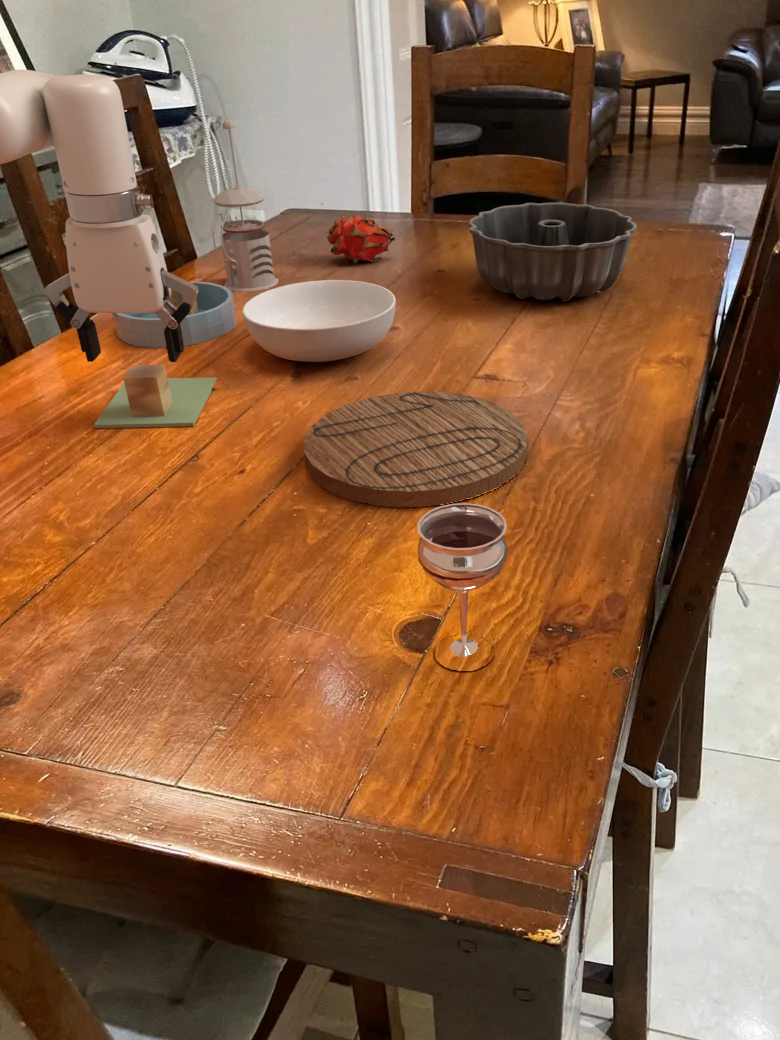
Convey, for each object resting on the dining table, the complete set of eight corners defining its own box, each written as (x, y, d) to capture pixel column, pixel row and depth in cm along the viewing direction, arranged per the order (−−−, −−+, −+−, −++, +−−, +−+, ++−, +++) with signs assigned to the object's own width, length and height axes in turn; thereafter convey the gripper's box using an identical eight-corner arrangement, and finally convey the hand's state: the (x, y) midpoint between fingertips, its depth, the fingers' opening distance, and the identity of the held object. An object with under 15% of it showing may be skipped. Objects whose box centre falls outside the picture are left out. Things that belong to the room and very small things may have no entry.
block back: (166, 323, 141) (160, 289, 138) (173, 314, 144) (166, 281, 141) (193, 322, 141) (187, 289, 138) (199, 313, 144) (193, 281, 141)
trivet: (272, 436, 109) (270, 421, 108) (457, 390, 119) (457, 376, 118) (362, 532, 91) (361, 515, 90) (572, 468, 101) (573, 452, 100)
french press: (292, 280, 158) (273, 116, 144) (250, 301, 150) (225, 128, 135) (246, 273, 162) (222, 113, 147) (202, 293, 154) (173, 125, 139)
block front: (132, 416, 113) (122, 377, 111) (141, 403, 117) (132, 365, 114) (164, 416, 113) (156, 377, 110) (172, 402, 117) (164, 364, 114)
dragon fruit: (325, 269, 168) (391, 276, 170) (324, 251, 160) (394, 259, 161) (328, 223, 168) (394, 230, 170) (327, 202, 160) (397, 210, 161)
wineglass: (486, 688, 72) (486, 558, 65) (408, 666, 75) (400, 538, 68) (518, 638, 77) (521, 513, 70) (444, 619, 79) (440, 496, 72)
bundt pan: (665, 289, 150) (673, 224, 144) (537, 324, 138) (539, 255, 132) (559, 253, 168) (562, 194, 162) (438, 281, 156) (436, 219, 150)
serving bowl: (318, 316, 143) (313, 270, 139) (427, 342, 133) (426, 293, 129) (217, 359, 130) (208, 310, 126) (331, 391, 119) (325, 339, 115)
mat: (94, 428, 112) (93, 424, 112) (127, 382, 124) (126, 379, 123) (193, 426, 112) (193, 422, 112) (217, 380, 123) (217, 377, 123)
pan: (103, 352, 133) (95, 321, 130) (136, 311, 147) (130, 282, 144) (224, 349, 133) (219, 318, 130) (246, 309, 147) (242, 280, 144)
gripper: (192, 198, 104) (214, 346, 114) (37, 197, 104) (72, 346, 114) (176, 215, 98) (200, 370, 108) (11, 214, 98) (51, 369, 108)
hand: (135, 357), depth 111 cm, fingers open, 9 cm apart
